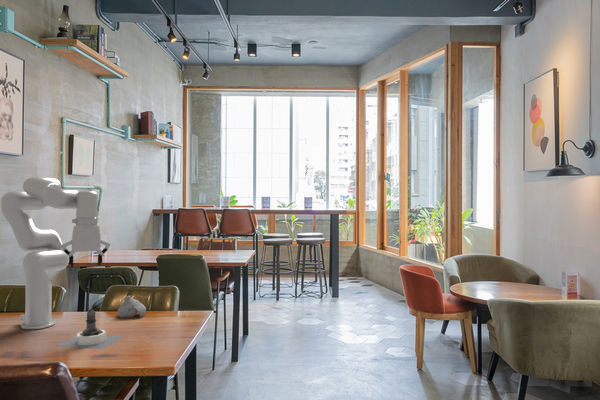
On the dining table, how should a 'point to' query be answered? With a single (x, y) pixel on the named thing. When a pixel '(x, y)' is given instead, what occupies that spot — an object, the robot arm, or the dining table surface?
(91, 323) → the dark grey chess piece
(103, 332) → the white round dish
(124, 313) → the grey clay mound
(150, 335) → the dining table surface
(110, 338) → the board
